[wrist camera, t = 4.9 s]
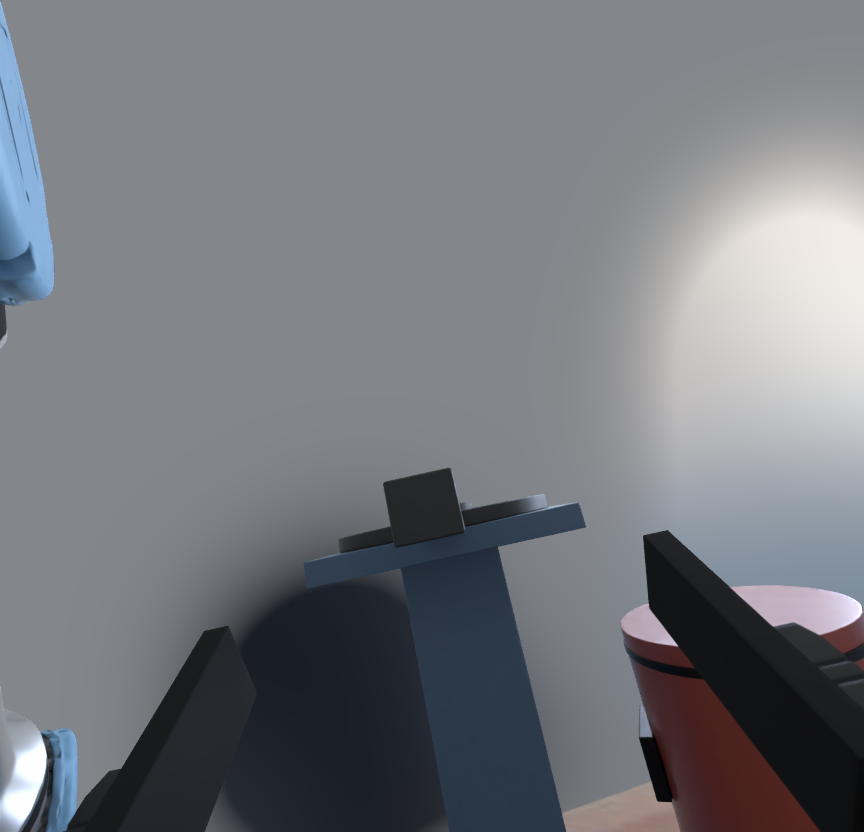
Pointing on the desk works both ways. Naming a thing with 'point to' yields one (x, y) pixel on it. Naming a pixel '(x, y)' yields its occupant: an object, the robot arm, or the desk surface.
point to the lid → (432, 512)
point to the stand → (473, 668)
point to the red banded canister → (723, 717)
